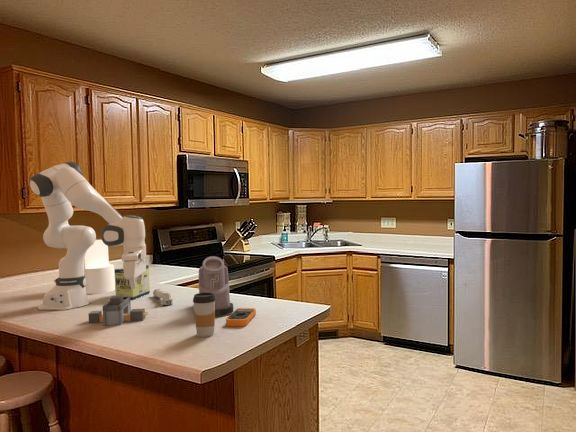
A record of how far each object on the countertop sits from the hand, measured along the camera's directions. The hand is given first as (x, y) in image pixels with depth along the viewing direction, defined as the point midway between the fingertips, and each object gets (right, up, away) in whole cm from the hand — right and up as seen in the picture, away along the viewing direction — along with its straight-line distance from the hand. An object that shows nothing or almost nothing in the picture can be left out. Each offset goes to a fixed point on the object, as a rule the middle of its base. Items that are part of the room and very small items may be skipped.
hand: (136, 286), depth 190 cm
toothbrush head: (+1, -13, +34) cm, 37 cm away
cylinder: (-43, -13, +63) cm, 77 cm away
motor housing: (-8, -14, +1) cm, 17 cm away
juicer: (+30, -13, +15) cm, 36 cm away
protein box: (-17, -13, +46) cm, 51 cm away
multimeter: (+45, -14, -5) cm, 47 cm away
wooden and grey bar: (-8, -15, +1) cm, 17 cm away
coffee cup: (+33, -15, -22) cm, 42 cm away
